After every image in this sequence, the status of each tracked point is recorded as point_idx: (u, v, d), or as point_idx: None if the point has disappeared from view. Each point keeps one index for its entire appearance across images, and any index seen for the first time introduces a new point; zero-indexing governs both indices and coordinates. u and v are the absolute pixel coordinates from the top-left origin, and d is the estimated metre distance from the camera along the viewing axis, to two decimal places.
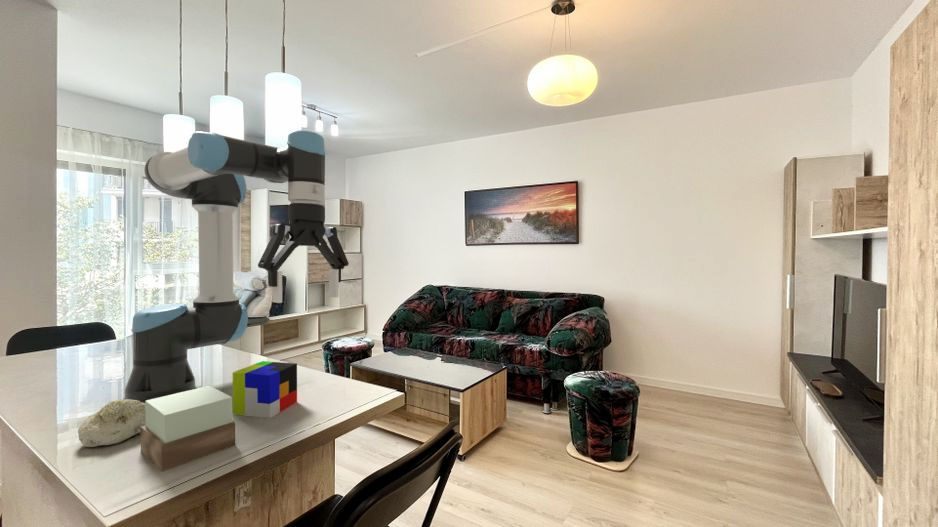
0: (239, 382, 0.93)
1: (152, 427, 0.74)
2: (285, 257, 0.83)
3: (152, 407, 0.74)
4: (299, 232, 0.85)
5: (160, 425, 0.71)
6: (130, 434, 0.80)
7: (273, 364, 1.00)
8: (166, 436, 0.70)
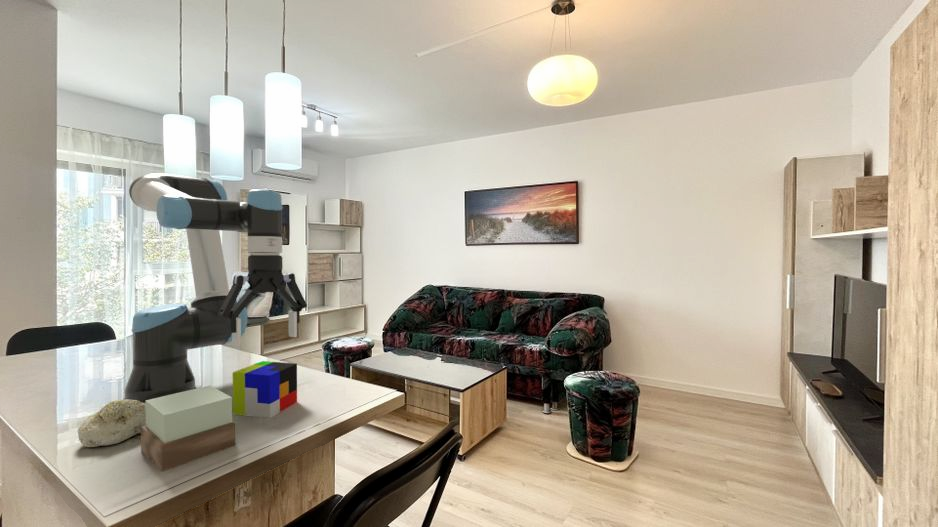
0: (239, 382, 0.93)
1: (152, 427, 0.74)
2: (244, 305, 0.92)
3: (152, 407, 0.74)
4: (257, 281, 0.94)
5: (160, 425, 0.71)
6: (130, 434, 0.80)
7: (273, 364, 1.00)
8: (165, 436, 0.70)
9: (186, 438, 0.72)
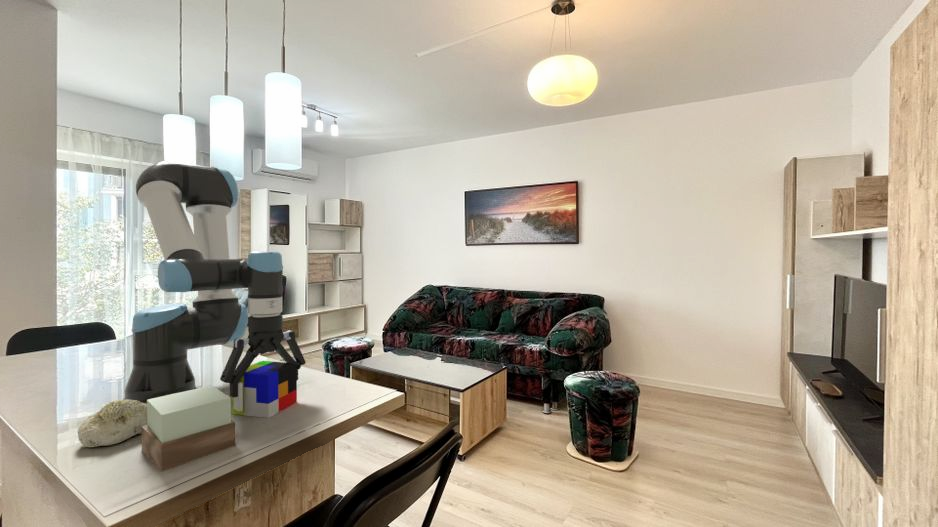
0: None
1: (152, 426, 0.74)
2: (245, 369, 0.92)
3: (152, 406, 0.74)
4: (258, 343, 0.95)
5: (158, 425, 0.71)
6: (130, 434, 0.80)
7: (273, 364, 1.00)
8: (163, 436, 0.70)
9: (186, 438, 0.72)
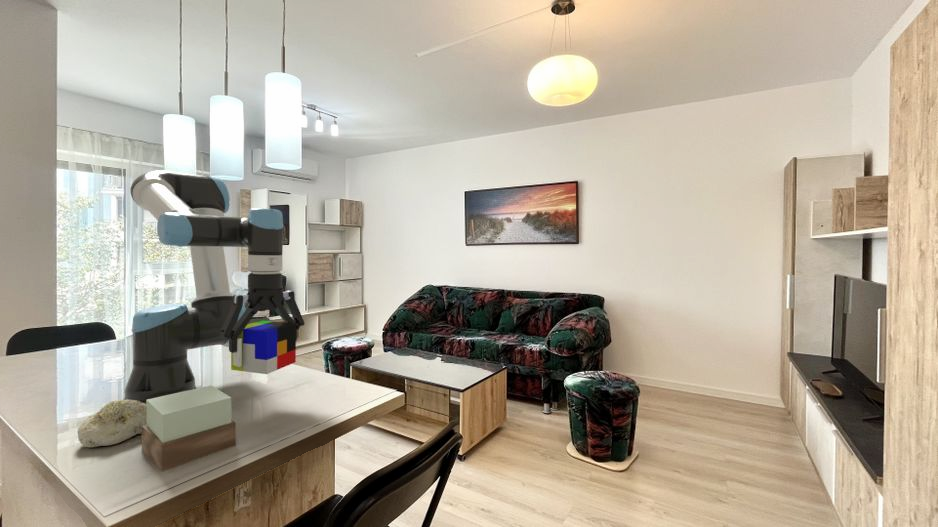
0: None
1: (152, 426, 0.74)
2: (244, 325, 0.92)
3: (152, 406, 0.74)
4: (257, 300, 0.94)
5: (159, 424, 0.71)
6: (129, 435, 0.80)
7: (272, 323, 1.00)
8: (163, 436, 0.70)
9: (186, 438, 0.72)
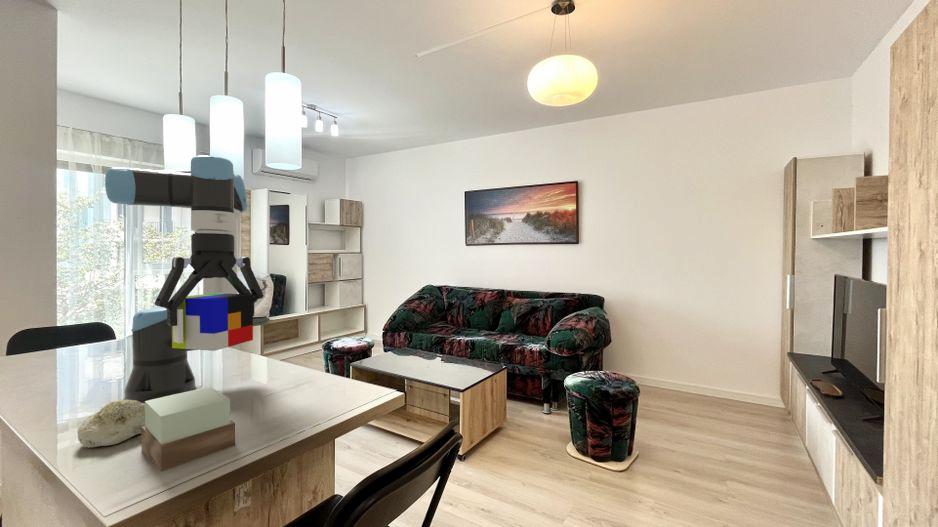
0: None
1: (150, 428, 0.74)
2: (186, 293, 0.77)
3: (150, 408, 0.74)
4: (202, 264, 0.80)
5: (157, 426, 0.71)
6: (129, 435, 0.80)
7: (224, 294, 0.85)
8: (162, 438, 0.70)
9: (186, 439, 0.72)
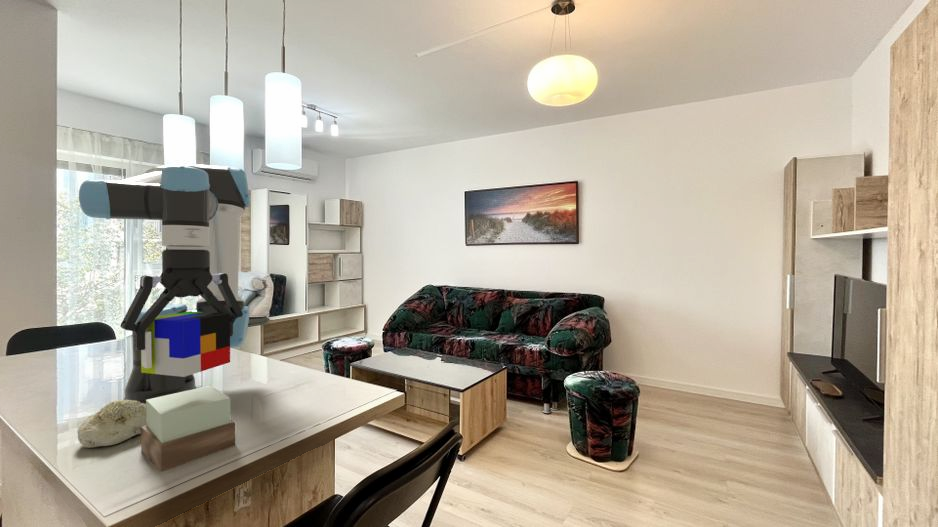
0: None
1: (151, 426, 0.74)
2: (155, 314, 0.72)
3: (151, 406, 0.74)
4: (174, 282, 0.74)
5: (158, 425, 0.71)
6: (129, 435, 0.80)
7: (199, 313, 0.80)
8: (162, 436, 0.70)
9: (186, 438, 0.72)
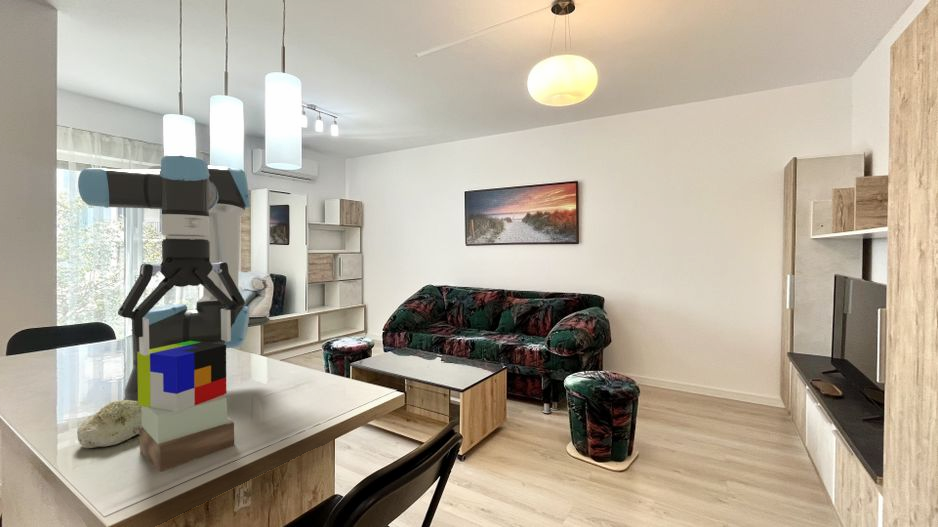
0: (144, 364, 0.73)
1: (147, 427, 0.74)
2: (153, 302, 0.72)
3: (147, 407, 0.74)
4: (174, 272, 0.74)
5: (154, 426, 0.71)
6: (129, 435, 0.80)
7: (197, 344, 0.80)
8: (159, 437, 0.70)
9: (185, 438, 0.72)
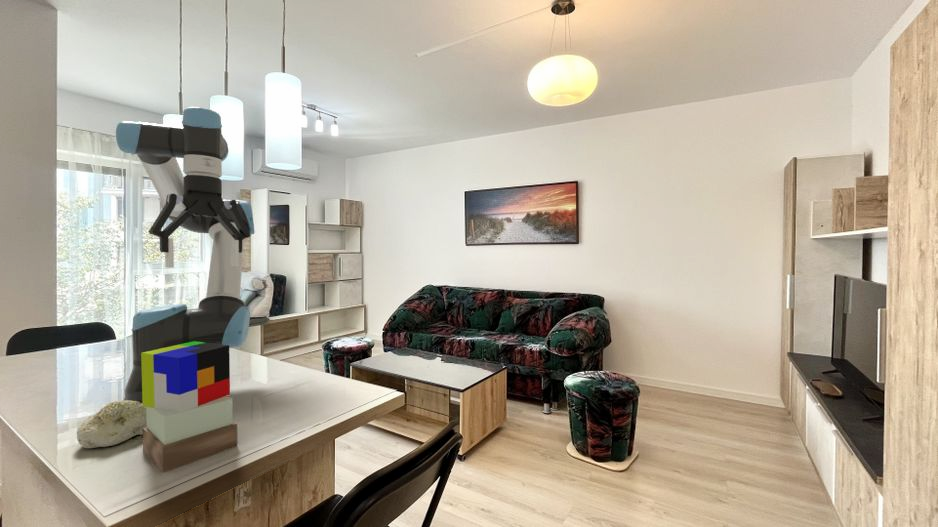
0: (148, 365, 0.73)
1: (152, 428, 0.74)
2: (177, 225, 0.88)
3: (152, 408, 0.73)
4: (193, 202, 0.91)
5: (160, 427, 0.71)
6: (128, 436, 0.80)
7: (200, 345, 0.80)
8: (165, 438, 0.70)
9: (187, 440, 0.72)
